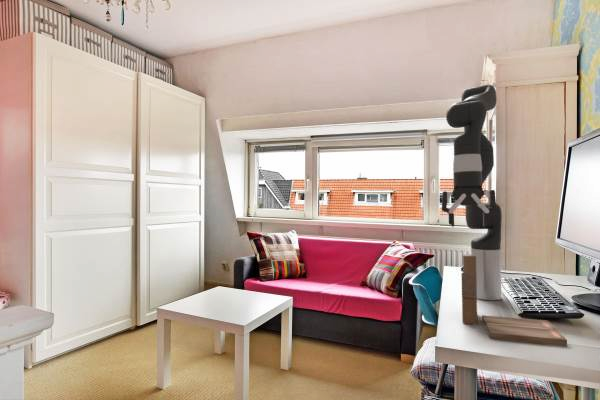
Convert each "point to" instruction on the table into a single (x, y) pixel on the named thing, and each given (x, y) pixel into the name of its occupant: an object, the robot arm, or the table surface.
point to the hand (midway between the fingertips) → (468, 226)
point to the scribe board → (523, 330)
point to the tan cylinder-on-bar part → (469, 290)
